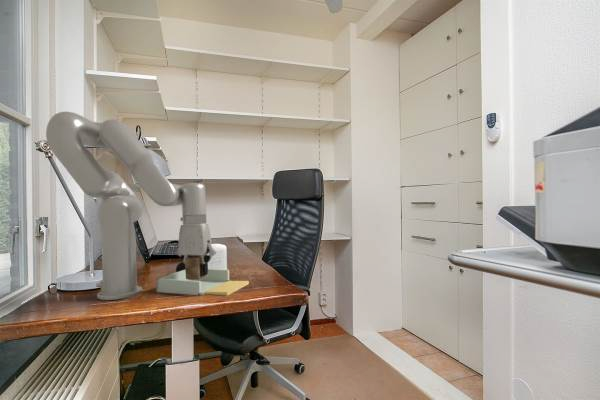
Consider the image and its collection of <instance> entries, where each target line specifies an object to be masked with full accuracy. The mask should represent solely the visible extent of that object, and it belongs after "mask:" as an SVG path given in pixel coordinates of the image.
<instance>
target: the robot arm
mask: <svg viewBox="0 0 600 400" xmlns="http://www.w3.org/2000/svg"><path fill="white" fill-rule="evenodd" d="M45 133H46V134H45V135H46V141H47V145H48V147H49V149H50V150H51V152H52V153H53V155H54V156H55V158H57V160H58V161H59V162H60V164H62V166H63V167H64V168H65V169H66V171H67V172H68V174H69V175H70V176H71V178H72V179H73V181H74V182H75V183H76V184H77V185H78V187H79V188H80V189H81V191H82V192H83V193H84V194H85V195H87V196H88V197H90V198H98V199H101V200H102V201H101V203H100V204H99V207H98V209H97V210H98V211H97V217H98V222H99V226H100V227H99V228H100V229H99V230H100V236H101V237H100V241H101V264H102V265H101V267H102V272H101V273H102V279H101V280H100V281H99V282H97V283H96V284H95V286H96V288H100V291H99V292H98V293H97V294H96V296H97V297H96V298H97V299H98V300H101V301H102V300H103V301H112V300H116V301H117V300H121V299H127V298H132V297H134V296H136V295H139V294H141V293H142V292H143V287H142V286H139V285H138V278H137V273H138V272H137V271H138V270H137V240H136V229H135V224H134V223H135V222H137V221H138V220H140V219H141V217H142V215H143V212H144V207H143V204H142V202H141V200H140V199H139V198H138V196H137V195H136V194H135V193H134V191H133V190H132V189H131V187H130V186H129V184H127V182H126V181H125V180H124V179H123V178H122V177H121V176H120V175H119V173H117V172H115V171H112V170H109V169H105V168H104V167H103V166H102V165H101V163H100V162H99V161H98V160H97V158H95V156H94V155H93V153H92V152H91V151H90V150H89V149H88V148H87V147H94V148H100V149H101V148H103V149H109V150H110V151H111V152H112V153H113V154H114V156H115V157H117V159H118V160H119V161H120V162H121V163H122V164H123V165H124V167H125V168H126V169H127V170H128V172H129V174H130V175H131V177H132V178H133V180H134V181H135V182H136V183H137V185H138V186H139V187H140V188H141V189H142V191H144V193H145V194H146V195H147V196H148V197H149V198H150V199H151V200H152V202H154V203H155V204H156V205H158V206H161V207H174V206H180V205H181V212H182V217H180V221H181V222H182V224H181V225H180V227H179V233H178V249H177V251H176V255H177V256H179V257H180V259H181V260H182V261H183V263H184V264H185V257H189V256H192V255H193V256H200V259H201V263H202V264H200V274H201V276H205V275H207V274H208V262H209V261H210V259H211V258H212V257H213V256H214V255H215V254H216V252H215V250H214V249H213V248H212V246H211V244H212V236H211V232H210V231H211V230H210V226H209V224H208V223H207V205H206V204H207V202H206V186H205V184H203V183H199V182H187V183H183V184H176V183H171V181H170V180H168V178H166V177H165V175H164V174H163V173H162V171H160V169H159V168H158V167H157V165H156V164H155V162H154V159H153V155H152V154H151V152H150V151H149V150H148V149H147V148H146V147H145V146H144V144H143V143H142V142H141V141H140V140H139V139H138V138H137V135H136V132H135V131H134V130H133V128H131V127H130V126H129V125H127V124H125V123H124V122H122V121H120V120H117V119H111V118H110V119H106V120H105V121H102V122H97V121H93V120H90V119H88V118H87V117H84V116H82V115H80V114H78V113H76V112H72V111H60V112H57V113H55V114H54V115H52V117H51V118H50V119H49V121H48V122H47V125H46V130H45ZM86 146H87V147H86ZM207 253H209V255H208V254H207ZM204 258H205V259H204Z"/></svg>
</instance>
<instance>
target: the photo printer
mask: <svg viewBox="0 0 600 400" xmlns="http://www.w3.org/2000/svg"><path fill="white" fill-rule="evenodd" d="M211 246H212V248H213V249H214V250H215V252H216V254H215V255H214V256H213V257H212V258H211V259H210V261H209V262H208V269H225V270H228V258H227V257H228V253H227V251H228V250H227V246H226V245H225V244H221V243H211ZM207 254H208V255H209V253H207Z"/></svg>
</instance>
